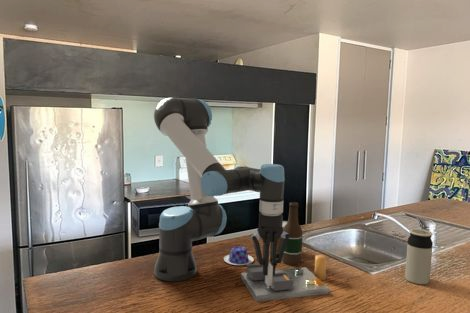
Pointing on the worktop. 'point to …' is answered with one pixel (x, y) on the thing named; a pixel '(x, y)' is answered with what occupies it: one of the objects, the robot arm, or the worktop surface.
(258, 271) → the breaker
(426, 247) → the travel mug
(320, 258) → the cap
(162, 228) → the robot arm
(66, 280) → the worktop surface
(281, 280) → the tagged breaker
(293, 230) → the beer bottle
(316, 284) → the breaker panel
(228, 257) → the pudding
